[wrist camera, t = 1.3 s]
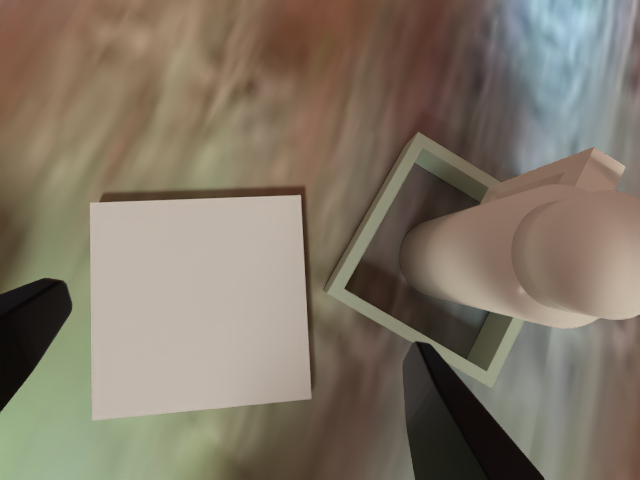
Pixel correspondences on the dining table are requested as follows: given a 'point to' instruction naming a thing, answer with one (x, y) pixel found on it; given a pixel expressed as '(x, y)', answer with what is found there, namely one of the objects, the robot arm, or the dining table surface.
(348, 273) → the holder
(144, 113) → the dining table surface
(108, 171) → the dining table surface
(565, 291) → the pink plastic bottle
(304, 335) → the plate
